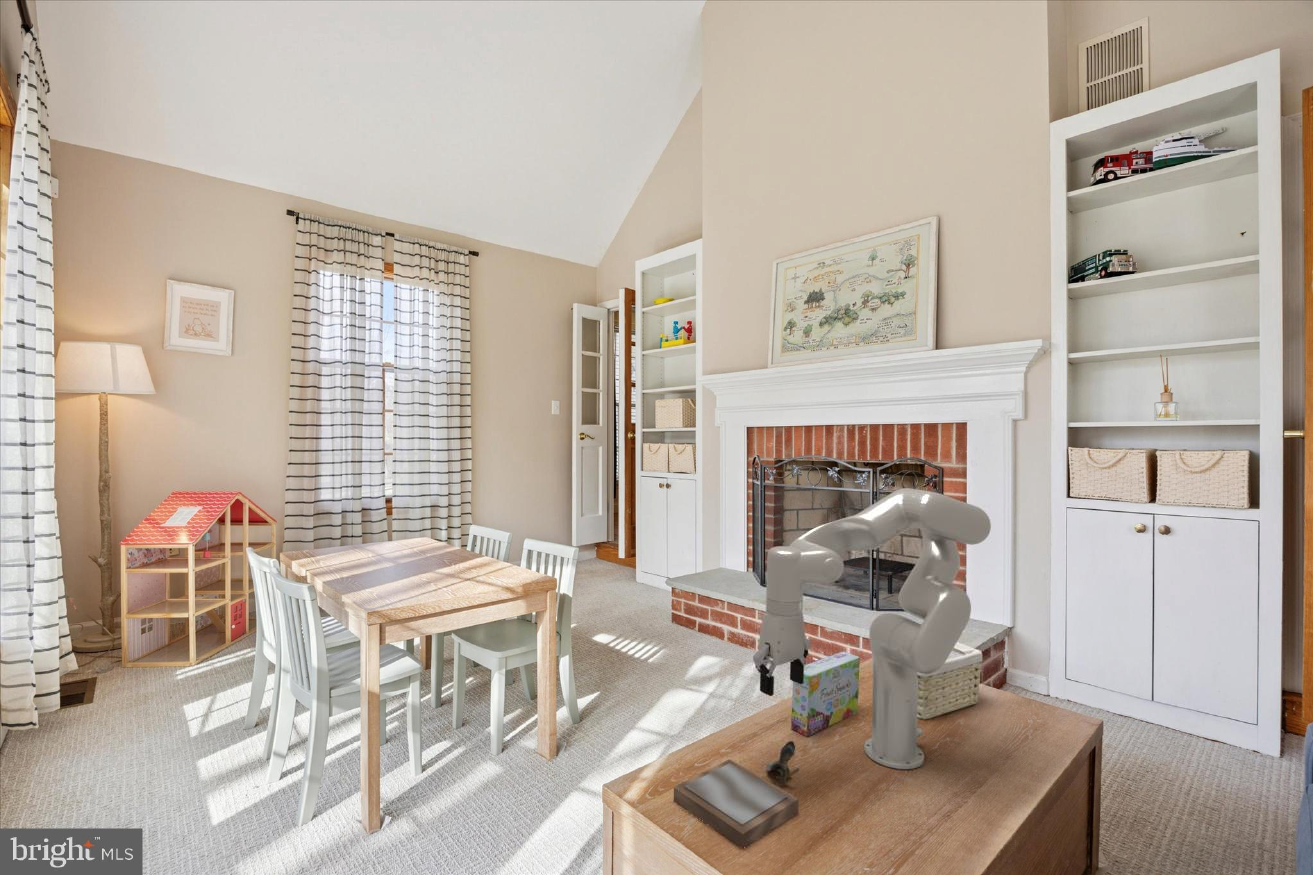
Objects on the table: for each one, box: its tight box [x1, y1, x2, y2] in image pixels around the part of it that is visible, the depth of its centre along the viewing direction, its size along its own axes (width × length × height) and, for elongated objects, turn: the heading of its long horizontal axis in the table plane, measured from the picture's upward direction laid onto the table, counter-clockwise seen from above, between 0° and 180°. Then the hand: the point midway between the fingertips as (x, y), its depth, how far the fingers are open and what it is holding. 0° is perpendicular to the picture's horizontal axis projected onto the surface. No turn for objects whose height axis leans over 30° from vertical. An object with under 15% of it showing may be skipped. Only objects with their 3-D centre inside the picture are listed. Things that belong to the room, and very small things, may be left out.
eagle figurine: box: [765, 740, 800, 788], centre depth 130 cm, size 8×7×9 cm
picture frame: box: [673, 758, 800, 850], centre depth 120 cm, size 16×18×3 cm
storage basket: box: [917, 641, 983, 720], centre depth 167 cm, size 24×16×15 cm
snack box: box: [790, 651, 861, 737], centre depth 155 cm, size 21×6×15 cm, turn 129°
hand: (781, 687), depth 129 cm, fingers open, 9 cm apart
